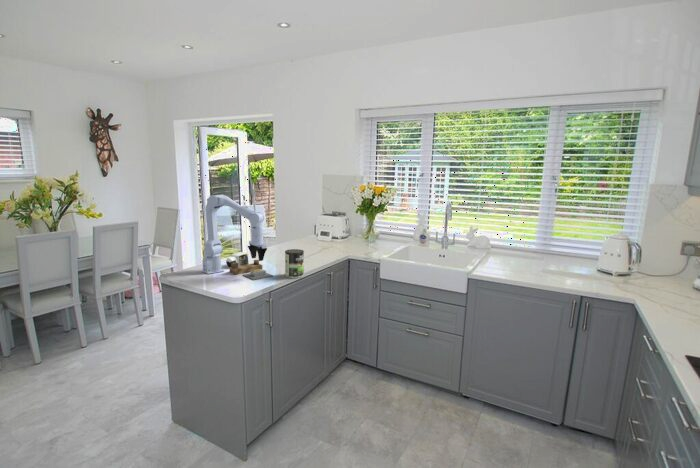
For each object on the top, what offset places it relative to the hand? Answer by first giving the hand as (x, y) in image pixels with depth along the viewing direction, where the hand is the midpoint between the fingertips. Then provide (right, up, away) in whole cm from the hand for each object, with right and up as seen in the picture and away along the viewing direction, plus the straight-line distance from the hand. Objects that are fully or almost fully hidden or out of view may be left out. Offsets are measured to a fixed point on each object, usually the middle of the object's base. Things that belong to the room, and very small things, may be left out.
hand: (257, 259), depth 203 cm
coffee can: (+20, -10, +4) cm, 22 cm away
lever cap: (0, -9, +1) cm, 9 cm away
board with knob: (-9, -8, +11) cm, 16 cm away
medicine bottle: (-14, -1, +26) cm, 29 cm away
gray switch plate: (0, -9, +1) cm, 9 cm away
